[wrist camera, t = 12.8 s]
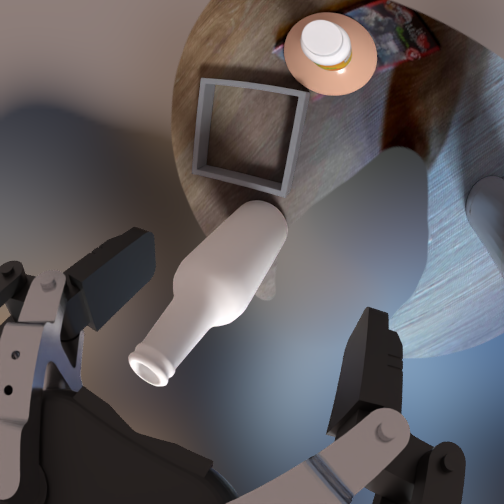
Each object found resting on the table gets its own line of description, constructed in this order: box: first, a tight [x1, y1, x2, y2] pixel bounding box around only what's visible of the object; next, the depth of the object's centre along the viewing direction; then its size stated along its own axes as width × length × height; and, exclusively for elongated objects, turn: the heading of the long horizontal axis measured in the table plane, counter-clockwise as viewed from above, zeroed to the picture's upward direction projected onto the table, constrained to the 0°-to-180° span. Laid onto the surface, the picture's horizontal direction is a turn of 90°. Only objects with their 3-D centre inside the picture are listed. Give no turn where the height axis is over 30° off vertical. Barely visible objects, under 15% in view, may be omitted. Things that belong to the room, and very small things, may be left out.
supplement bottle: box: [300, 20, 352, 71], centre depth 25 cm, size 5×5×10 cm
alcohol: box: [128, 200, 288, 386], centre depth 34 cm, size 9×9×30 cm
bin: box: [192, 78, 310, 198], centre depth 38 cm, size 15×15×3 cm
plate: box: [284, 12, 377, 96], centre depth 29 cm, size 12×12×1 cm
